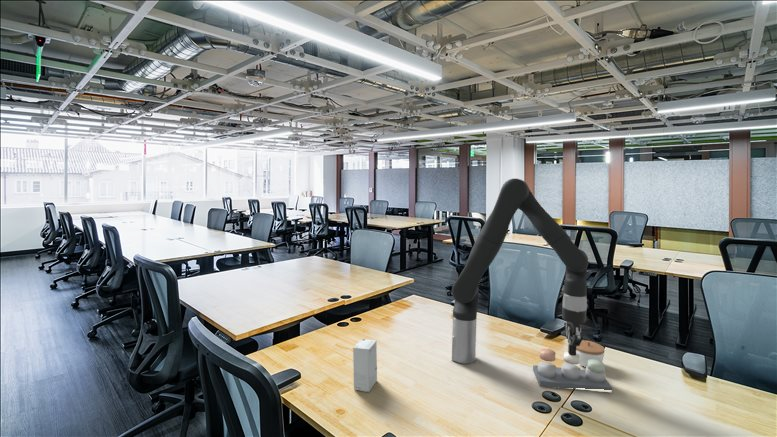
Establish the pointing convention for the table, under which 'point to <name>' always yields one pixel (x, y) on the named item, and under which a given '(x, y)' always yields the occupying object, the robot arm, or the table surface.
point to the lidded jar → (589, 352)
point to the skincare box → (365, 365)
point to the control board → (569, 382)
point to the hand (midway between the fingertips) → (572, 354)
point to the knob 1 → (547, 355)
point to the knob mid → (571, 358)
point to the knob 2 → (595, 366)
